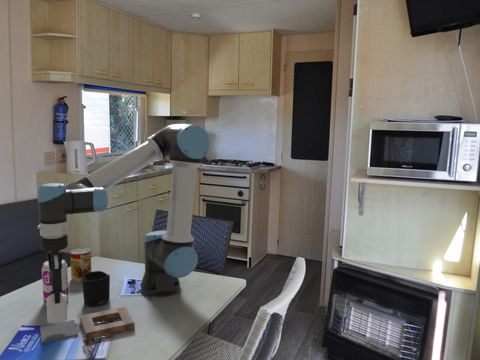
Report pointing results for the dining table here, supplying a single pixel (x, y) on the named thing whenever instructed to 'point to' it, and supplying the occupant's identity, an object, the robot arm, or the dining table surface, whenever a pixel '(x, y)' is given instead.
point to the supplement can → (47, 282)
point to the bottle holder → (110, 328)
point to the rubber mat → (58, 331)
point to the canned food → (80, 263)
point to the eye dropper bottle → (57, 316)
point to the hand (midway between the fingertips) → (57, 309)
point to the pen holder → (96, 288)
